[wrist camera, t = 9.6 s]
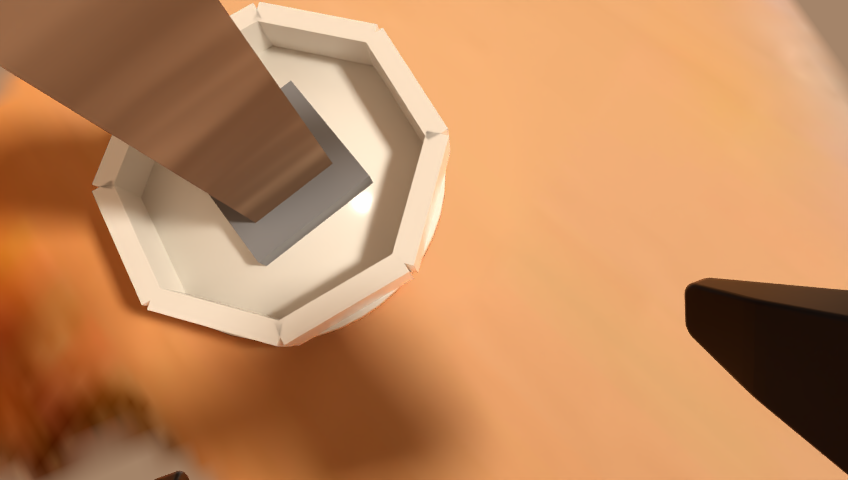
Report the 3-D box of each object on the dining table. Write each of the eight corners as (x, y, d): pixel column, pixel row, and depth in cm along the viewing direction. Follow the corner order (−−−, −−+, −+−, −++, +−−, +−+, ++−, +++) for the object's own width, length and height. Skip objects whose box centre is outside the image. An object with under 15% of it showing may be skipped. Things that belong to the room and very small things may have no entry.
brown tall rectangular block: (373, 182, 19) (217, -106, 7) (266, 266, 19) (-92, 113, 7) (297, 90, 20) (49, -299, 8) (195, 168, 20) (-228, -120, 8)
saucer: (507, 232, 19) (512, 217, 17) (214, 405, 19) (181, 412, 16) (350, -11, 22) (338, -50, 20) (91, 134, 21) (50, 109, 19)
